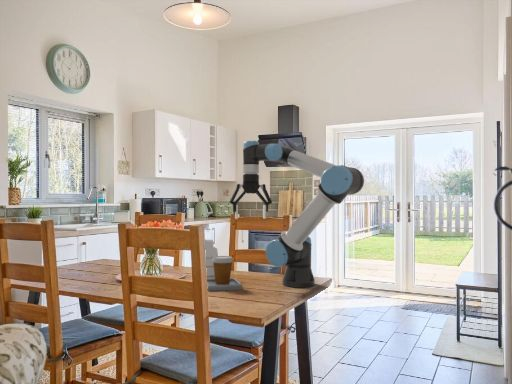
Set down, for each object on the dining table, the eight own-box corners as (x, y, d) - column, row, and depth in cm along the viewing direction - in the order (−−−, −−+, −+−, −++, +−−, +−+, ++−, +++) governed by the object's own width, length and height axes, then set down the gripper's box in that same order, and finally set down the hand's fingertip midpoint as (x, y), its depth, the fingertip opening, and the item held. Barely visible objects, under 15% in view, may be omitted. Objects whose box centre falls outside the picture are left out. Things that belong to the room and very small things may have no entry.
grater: (199, 282, 210) (199, 240, 211) (196, 278, 220) (196, 238, 221) (220, 281, 213) (221, 240, 213) (216, 277, 223) (217, 238, 223)
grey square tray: (235, 283, 209) (235, 278, 209) (241, 289, 195) (241, 284, 195) (203, 284, 206) (203, 279, 206) (208, 291, 191) (208, 285, 191)
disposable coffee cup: (228, 286, 194) (228, 259, 194) (208, 284, 197) (208, 258, 197) (235, 282, 203) (236, 256, 203) (216, 281, 206) (217, 255, 206)
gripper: (274, 174, 215) (273, 218, 215) (223, 173, 209) (223, 218, 209) (278, 174, 207) (278, 219, 207) (226, 172, 201) (225, 219, 201)
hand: (250, 218), depth 208 cm, fingers open, 13 cm apart
